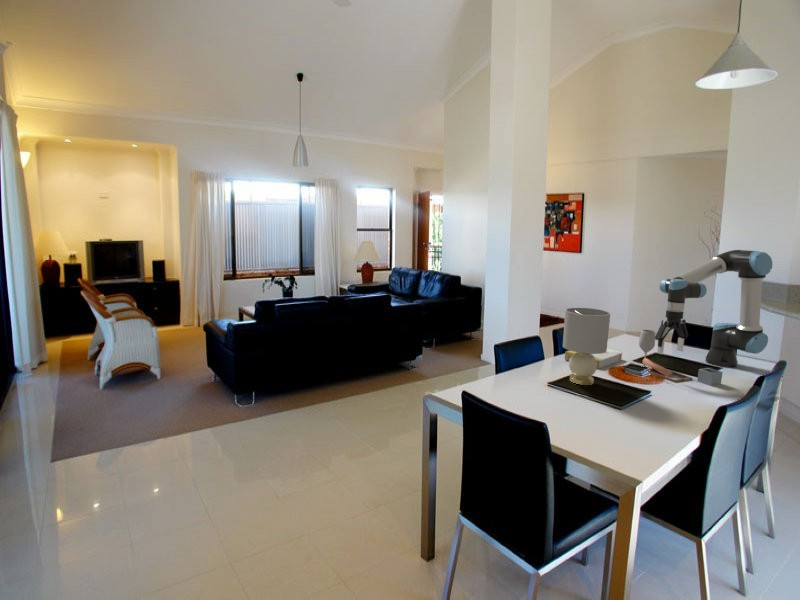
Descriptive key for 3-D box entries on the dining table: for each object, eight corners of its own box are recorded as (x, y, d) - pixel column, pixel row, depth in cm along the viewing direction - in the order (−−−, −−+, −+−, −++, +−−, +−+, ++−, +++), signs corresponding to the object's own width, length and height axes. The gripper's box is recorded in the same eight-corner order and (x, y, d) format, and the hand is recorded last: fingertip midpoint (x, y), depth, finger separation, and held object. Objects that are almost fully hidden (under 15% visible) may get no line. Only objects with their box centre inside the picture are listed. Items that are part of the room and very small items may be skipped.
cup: (706, 382, 242) (708, 367, 241) (720, 386, 236) (722, 372, 234) (696, 383, 239) (698, 369, 238) (710, 388, 233) (712, 373, 232)
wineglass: (653, 371, 257) (658, 333, 254) (638, 370, 259) (642, 332, 255) (649, 367, 265) (653, 329, 261) (634, 366, 266) (638, 328, 262)
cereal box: (564, 351, 274) (589, 343, 292) (563, 360, 275) (588, 352, 293) (599, 360, 259) (622, 351, 278) (598, 370, 260) (621, 360, 279)
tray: (660, 371, 258) (660, 367, 258) (691, 382, 242) (692, 377, 241) (643, 373, 254) (643, 369, 253) (674, 384, 237) (674, 380, 237)
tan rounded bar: (674, 372, 245) (651, 351, 257) (669, 373, 244) (646, 351, 256) (667, 383, 249) (645, 361, 261) (662, 384, 248) (640, 362, 260)
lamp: (609, 382, 239) (616, 311, 233) (593, 392, 224) (600, 317, 218) (570, 372, 252) (575, 306, 246) (552, 381, 238) (558, 311, 232)
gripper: (685, 307, 250) (681, 347, 253) (650, 310, 240) (645, 351, 244) (699, 310, 243) (694, 351, 246) (663, 313, 234) (658, 355, 237)
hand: (670, 351), depth 245 cm, fingers open, 13 cm apart
